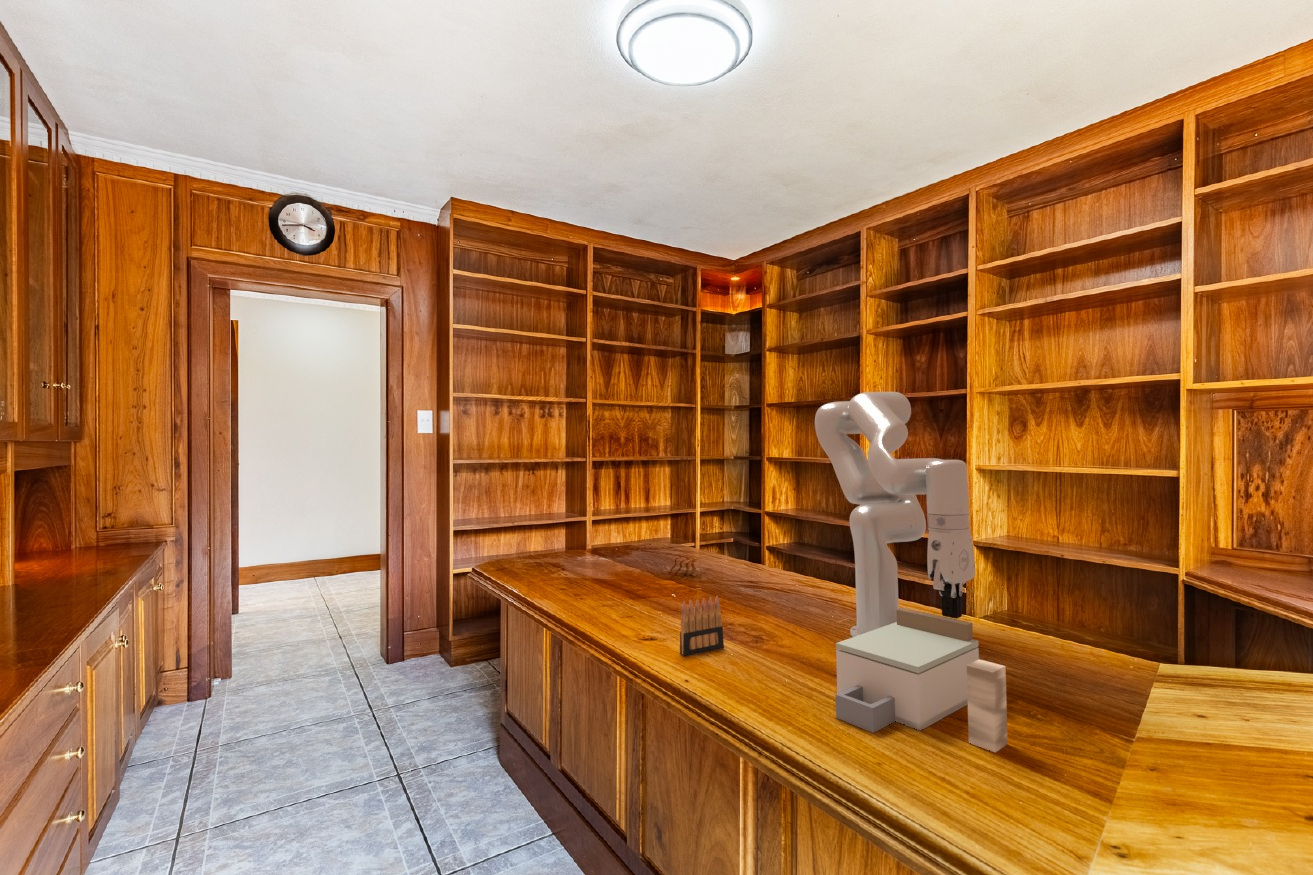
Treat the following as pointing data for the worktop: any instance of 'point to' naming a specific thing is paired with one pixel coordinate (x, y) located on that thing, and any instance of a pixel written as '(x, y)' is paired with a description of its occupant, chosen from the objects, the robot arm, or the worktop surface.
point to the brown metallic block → (987, 705)
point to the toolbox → (899, 691)
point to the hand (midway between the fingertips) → (951, 616)
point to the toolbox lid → (914, 641)
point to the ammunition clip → (701, 628)
